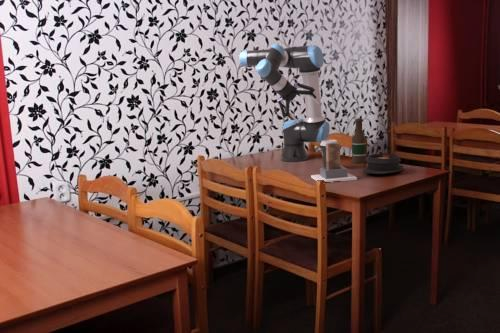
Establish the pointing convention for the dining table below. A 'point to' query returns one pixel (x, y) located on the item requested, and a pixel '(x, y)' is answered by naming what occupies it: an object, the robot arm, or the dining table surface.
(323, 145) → the coffee cup
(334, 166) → the walnut slat
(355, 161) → the beer bottle
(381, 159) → the casserole
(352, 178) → the end cap plate
